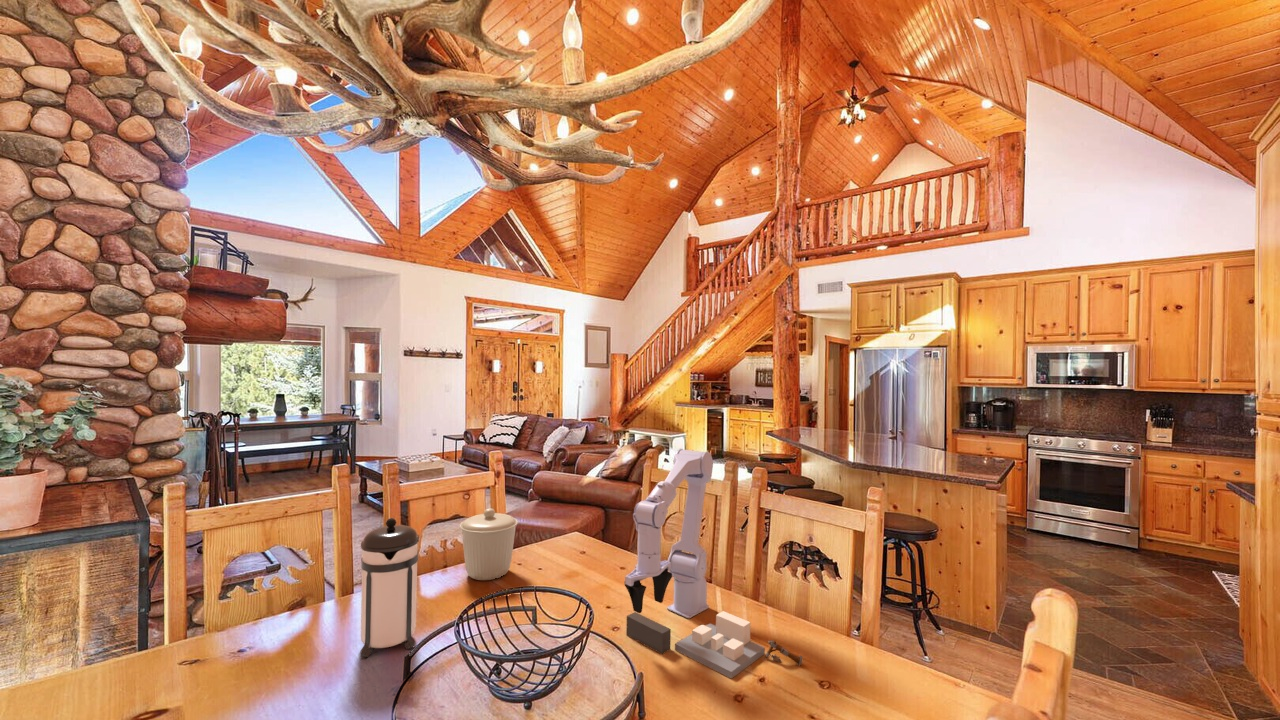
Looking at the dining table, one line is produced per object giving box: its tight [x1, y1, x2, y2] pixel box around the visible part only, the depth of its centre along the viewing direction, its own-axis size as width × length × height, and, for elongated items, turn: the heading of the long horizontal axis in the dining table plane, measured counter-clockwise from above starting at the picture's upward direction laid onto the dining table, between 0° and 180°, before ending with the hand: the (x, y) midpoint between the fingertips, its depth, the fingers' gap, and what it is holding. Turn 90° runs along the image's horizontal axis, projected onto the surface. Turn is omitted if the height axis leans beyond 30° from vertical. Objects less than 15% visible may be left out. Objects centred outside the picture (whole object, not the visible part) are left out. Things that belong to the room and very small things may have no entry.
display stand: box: [674, 610, 766, 679], centre depth 123 cm, size 14×16×6 cm
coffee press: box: [360, 517, 420, 659], centre depth 126 cm, size 17×16×30 cm
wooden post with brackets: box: [764, 640, 803, 667], centre depth 119 cm, size 2×8×4 cm, turn 75°
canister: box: [459, 507, 519, 581], centre depth 166 cm, size 18×18×21 cm
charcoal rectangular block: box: [625, 611, 672, 655], centre depth 127 cm, size 3×12×5 cm, turn 46°
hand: (648, 606), depth 127 cm, fingers open, 7 cm apart
